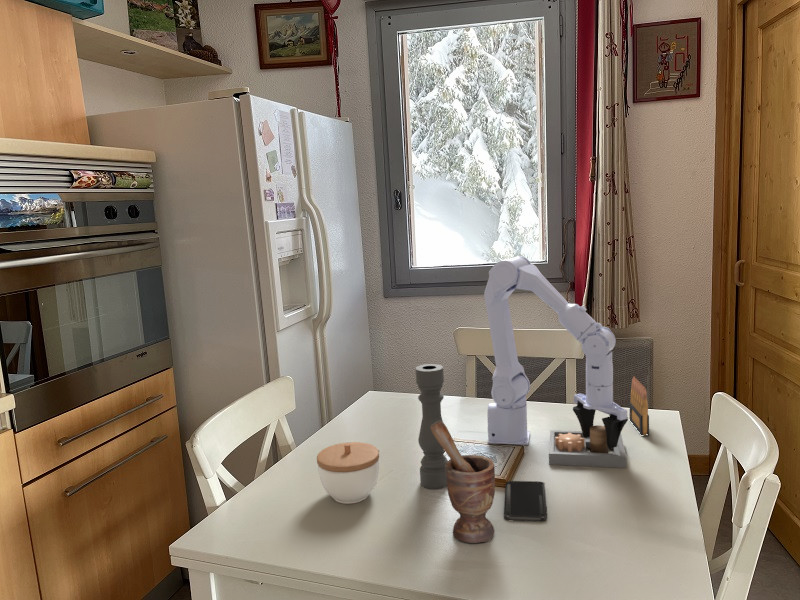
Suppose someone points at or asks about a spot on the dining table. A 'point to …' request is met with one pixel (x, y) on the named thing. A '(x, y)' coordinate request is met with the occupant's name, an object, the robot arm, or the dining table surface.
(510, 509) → the phone
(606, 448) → the brown rounded cylinder
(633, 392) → the ammunition clip
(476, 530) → the mortar and pestle
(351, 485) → the lidded bowl
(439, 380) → the candle holder
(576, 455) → the housing
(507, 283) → the robot arm
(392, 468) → the dining table surface
